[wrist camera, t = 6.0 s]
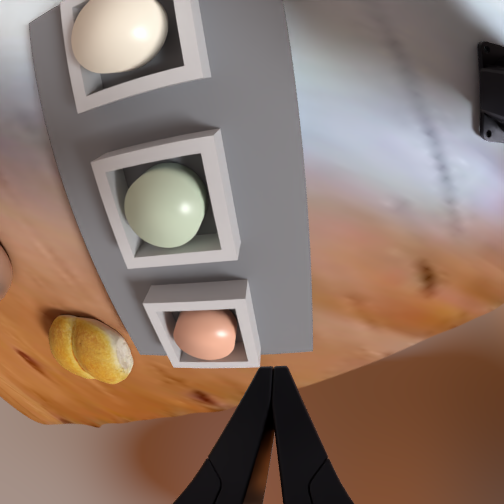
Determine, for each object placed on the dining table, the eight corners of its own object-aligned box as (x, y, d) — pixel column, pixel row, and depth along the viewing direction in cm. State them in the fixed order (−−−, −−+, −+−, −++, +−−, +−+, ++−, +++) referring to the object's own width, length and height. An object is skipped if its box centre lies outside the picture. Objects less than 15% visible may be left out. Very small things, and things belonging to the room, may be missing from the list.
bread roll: (45, 307, 26) (26, 334, 22) (117, 315, 25) (100, 349, 21) (76, 361, 30) (63, 387, 26) (143, 372, 29) (133, 403, 26)
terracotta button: (231, 298, 19) (228, 317, 18) (241, 340, 21) (239, 359, 20) (171, 301, 20) (165, 319, 18) (188, 342, 22) (183, 359, 21)
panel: (270, -47, 10) (269, -75, 7) (311, 331, 24) (314, 370, 21) (48, 24, 12) (9, 23, 9) (147, 337, 26) (134, 371, 22)
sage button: (199, 156, 15) (191, 166, 13) (214, 227, 17) (209, 244, 15) (128, 170, 15) (114, 181, 14) (148, 235, 17) (137, 251, 16)
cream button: (162, -17, 9) (148, -27, 8) (174, 58, 11) (161, 57, 10) (86, 12, 10) (67, 9, 8) (97, 82, 12) (78, 86, 10)
